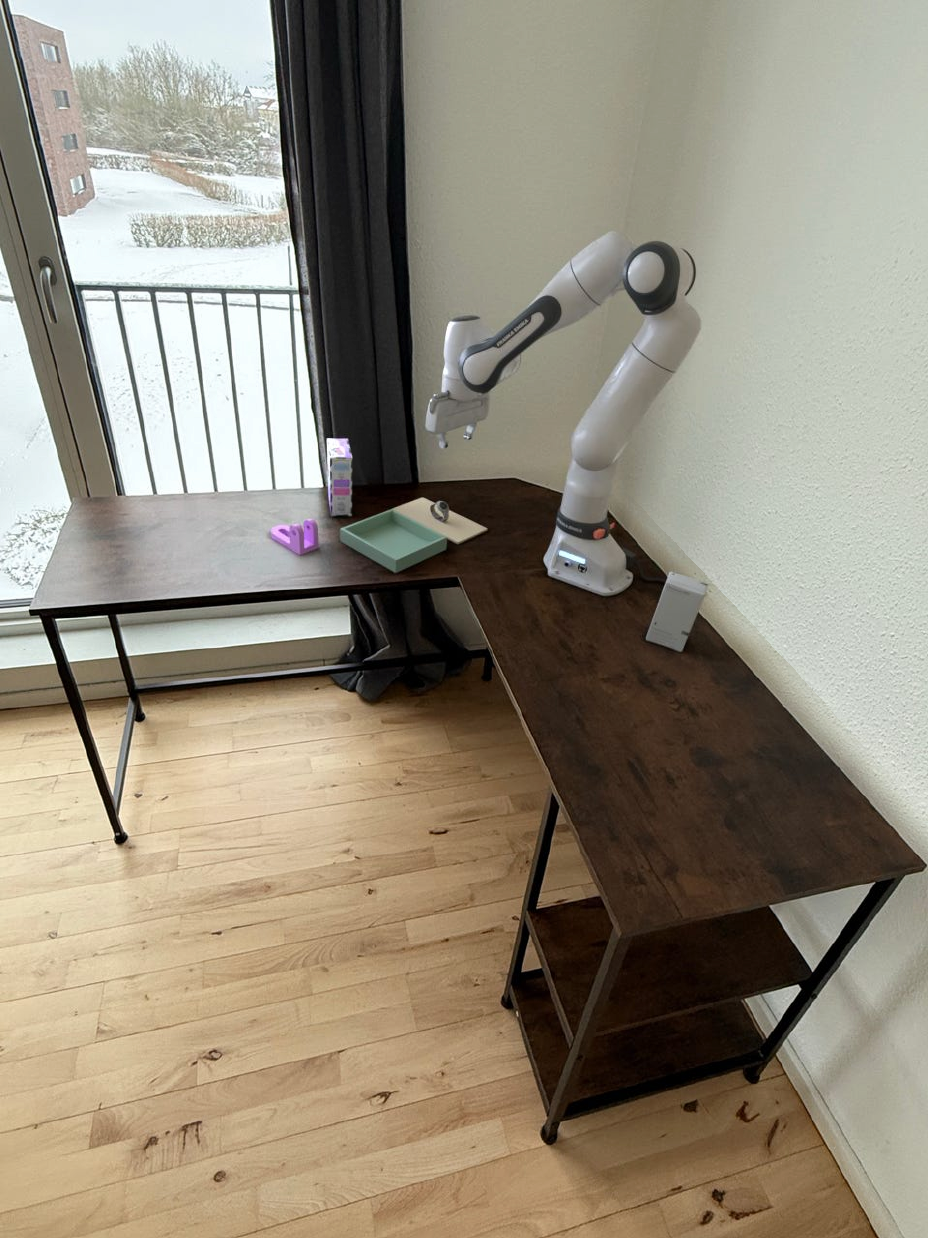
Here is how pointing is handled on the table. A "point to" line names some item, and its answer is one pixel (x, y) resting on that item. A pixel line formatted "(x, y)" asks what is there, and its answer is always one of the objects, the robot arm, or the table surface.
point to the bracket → (297, 536)
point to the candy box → (339, 477)
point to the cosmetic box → (676, 611)
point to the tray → (393, 540)
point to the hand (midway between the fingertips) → (455, 443)
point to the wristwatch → (441, 507)
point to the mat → (452, 528)
